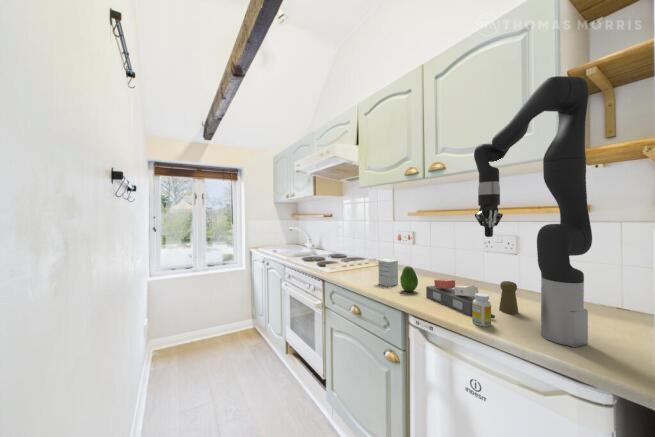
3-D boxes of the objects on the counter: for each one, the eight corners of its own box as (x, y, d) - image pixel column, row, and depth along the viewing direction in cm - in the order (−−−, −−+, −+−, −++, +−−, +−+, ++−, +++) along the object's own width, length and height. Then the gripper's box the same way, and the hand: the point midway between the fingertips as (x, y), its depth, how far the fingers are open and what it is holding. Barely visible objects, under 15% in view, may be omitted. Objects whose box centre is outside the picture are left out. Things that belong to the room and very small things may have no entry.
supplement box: (386, 281, 144) (386, 258, 143) (398, 284, 138) (398, 260, 138) (378, 284, 139) (377, 259, 139) (389, 286, 133) (389, 261, 133)
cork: (499, 312, 98) (499, 282, 97) (498, 307, 103) (498, 279, 103) (519, 315, 95) (520, 284, 95) (517, 309, 100) (517, 280, 100)
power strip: (502, 318, 92) (502, 305, 92) (484, 322, 89) (484, 308, 89) (441, 295, 119) (441, 284, 119) (426, 296, 116) (426, 286, 116)
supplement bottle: (473, 325, 87) (473, 296, 86) (471, 319, 91) (471, 291, 91) (492, 328, 84) (492, 297, 84) (489, 321, 89) (489, 293, 89)
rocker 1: (456, 287, 109) (455, 279, 109) (446, 288, 107) (445, 280, 108) (443, 286, 115) (442, 278, 116) (434, 287, 114) (433, 279, 114)
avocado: (397, 291, 124) (397, 266, 124) (404, 288, 130) (404, 263, 130) (414, 295, 119) (414, 268, 119) (420, 291, 125) (420, 265, 125)
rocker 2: (479, 294, 98) (477, 286, 99) (469, 296, 97) (467, 287, 97) (464, 293, 105) (462, 285, 105) (454, 294, 103) (453, 286, 104)
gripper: (484, 192, 101) (484, 238, 102) (509, 193, 106) (509, 236, 106) (468, 194, 108) (468, 236, 109) (492, 194, 113) (492, 235, 113)
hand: (488, 236), depth 107 cm, fingers closed
